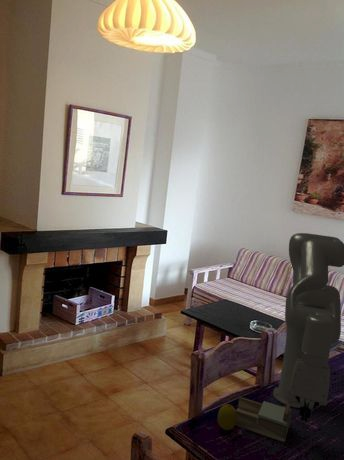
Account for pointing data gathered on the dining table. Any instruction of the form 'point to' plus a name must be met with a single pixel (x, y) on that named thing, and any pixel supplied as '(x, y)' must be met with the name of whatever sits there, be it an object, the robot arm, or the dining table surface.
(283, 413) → the cover
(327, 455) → the dining table surface
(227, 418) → the lemon
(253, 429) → the beige box
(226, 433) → the dining table surface
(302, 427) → the dining table surface
